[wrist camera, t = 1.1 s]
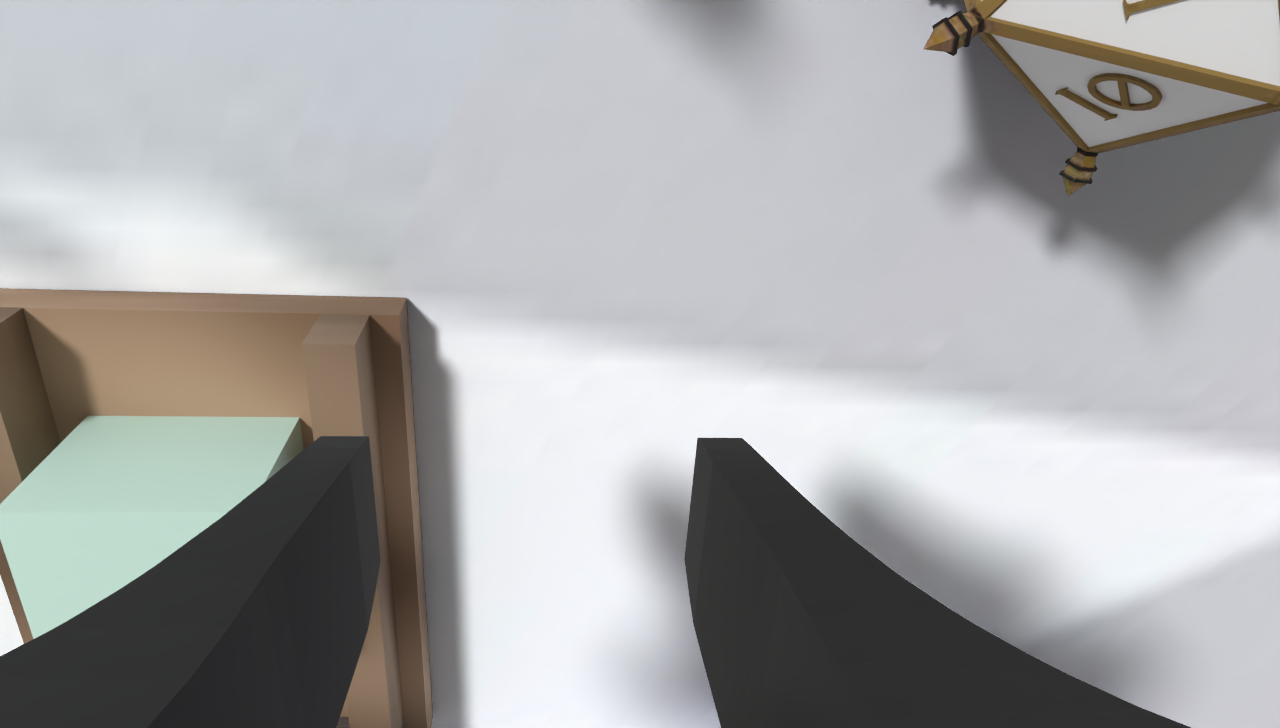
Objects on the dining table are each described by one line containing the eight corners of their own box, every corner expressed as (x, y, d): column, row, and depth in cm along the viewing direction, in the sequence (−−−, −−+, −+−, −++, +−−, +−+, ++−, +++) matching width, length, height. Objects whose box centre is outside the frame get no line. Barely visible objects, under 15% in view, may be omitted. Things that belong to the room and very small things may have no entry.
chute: (432, 715, 24) (415, 828, 21) (102, 725, 23) (32, 846, 20) (406, 297, 19) (376, 367, 16) (-33, 287, 18) (-159, 360, 15)
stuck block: (318, 560, 20) (276, 671, 17) (125, 562, 20) (46, 677, 17) (299, 417, 19) (249, 511, 16) (87, 415, 18) (-9, 512, 15)
